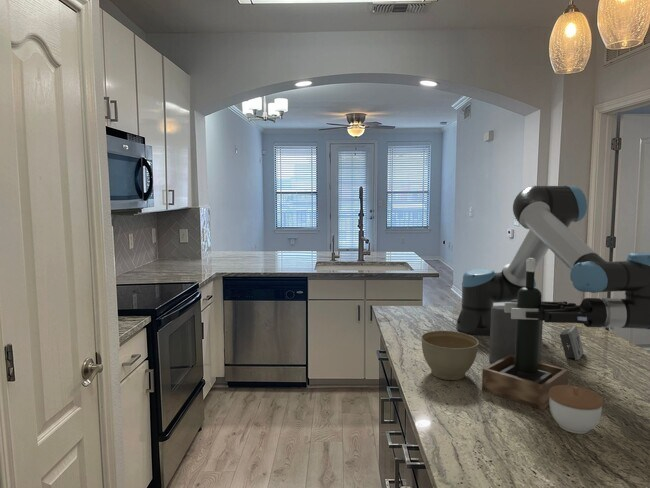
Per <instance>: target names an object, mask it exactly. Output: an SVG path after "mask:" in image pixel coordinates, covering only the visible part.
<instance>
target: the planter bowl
mask: <svg viewBox="0 0 650 488" xmlns="http://www.w3.org/2000/svg"><path fill="white" fill-rule="evenodd" d="M420 339H421V348H422V349H421V350H422V354H423V357H424V360H425V363H426V364H427V365H428V367H429V368H430V371H431V374H432V376H434V377H436V378H438V379H441V380H446V381H447V380H448V381H459V380H462V379H464V378H465V377H466V373H467V372H468V371H469V370H470V369H471V368H472V367H473V364H474V362H475V361H476V358H477V354H478V353H477V352H478V347H479V340H478V339H477V338H476V337H474V336H472V335H471V334H468V333H465V332H461V331H459V332H458V331H452V330H432V331H428V332H424V333H422V335H421V337H420Z"/></svg>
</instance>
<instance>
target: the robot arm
mask: <svg viewBox="0 0 650 488" xmlns="http://www.w3.org/2000/svg"><path fill="white" fill-rule="evenodd" d="M587 202H588V201H587V197H586V194H585V193H584V191H583V190H582V189H581V188H580V187H578V186H575V185H567V184H566V185H532V186H528V187H526V188H523V189H522V190H521V191H520V192H519V193H518V194H517V195H516V197H515V198H514V200H513V203H512V212H513V215H514V218H515V220H516V221H517V222H518V223H519V225H520V226H522V227H523V228H524V229H527V230H528V231H527V232H526V233H527V234H526V236H525V237H524V239H523V241H522V243H521V245H520V247H519V248H518V250H517V252H516V253H515V256H514V257H513V258H512V261H511V262H509V263H507V264H505V265H504V266H503V268H502V270H501V271H500V272H495V270H494V269H492V268H475V269H471V270H468V271H465V272H463V275H462V281H461V310H460V313H459V315H458V318H457V320H456V330H458V331H459V332H461V333H464V334H468V335H476V336H479V335H480V336H487V335H490V328H491V308H492V307H493V306H494V303H495V304H497V303H498V304H499V303H501V304H502V303H504V306H505V309H504V312H505V313H511V319H532V320H538V318H539V320H541V321H543V323H546V324H547V323H549V324H550V323H551V324H553V323H557V324H559V323H560V324H583V326H585V327H587V328H609V329H610V330H612V331H614V330H615V329H616V328H617V329H640V330H642V329H643V330H650V252H636V251H635V252H630V253H628V254H627V258H626V260H623V261H619V260H617V261H606V260H605V259H604V258H603V257H602V256H600V255H599V254H598V253H597V252H596V251H594V250H593V248H591V247H590V246H589V245H588V244H587V243H586V242H584V241H583V239H581V238H580V237H579V236H578V235H577V234H576V233H574V232H573V230H571V229H570V228H569V226H570V225H571V223H572V222H573V223H576V222H580V221H582V220H583V219H584V218H585V216H586V214H587V210H588V203H587ZM549 250H550V251H551V252H552V253H553V255H555V256H556V257H557V258H558V259H559V260H560V261H561V262H562V263H563V264H564V265H565V266H566V268H568V270H570V274H569V277H570V278H569V279H570V281H571V282H572V286H573V288H575V289H576V290H577V291H579V292H582V293H593V294H594V293H595V294H596V293H597V294H598V293H607V292H609V293H610V292H624V296H625V298H618V297H617V298H613V297H611V298H610V297H602V298H597V297H585V298H584V299H582V301H581V303H579V305H577V303H573V302H568V301H544V300H543V301H542V300H541V307H540V312H539V309H531V308H517V303H514V302H511V301H512V300H513V299H517V296H518V291H519V290H520V289H521V288H523V287H526V260H527V258H534V259H536V262H535V271H536V270H537V269H538V267H539V265H540V264H541V262H542V260H543V259H544V258H545V256H546V254H547V252H548V251H549ZM536 283H537V282H536V280H535V278H534V288H537V287H536V286H537V284H536Z"/></svg>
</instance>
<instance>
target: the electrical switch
mask: <svg viewBox="0 0 650 488" xmlns="http://www.w3.org/2000/svg"><path fill="white" fill-rule="evenodd" d="M559 337H560V341H561V344H562V345H561V346H562V348H563V352H564V353H563V354H564V357H565V358H566V359H574V361H580V359H581V357H582V356H583V355H584V348H583V344H582V340H581V337H580V333H579V329H578V327H577V325H573V326H572V328H567V329H566V328H565V329H564V330H562V332H561V333H559Z"/></svg>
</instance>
